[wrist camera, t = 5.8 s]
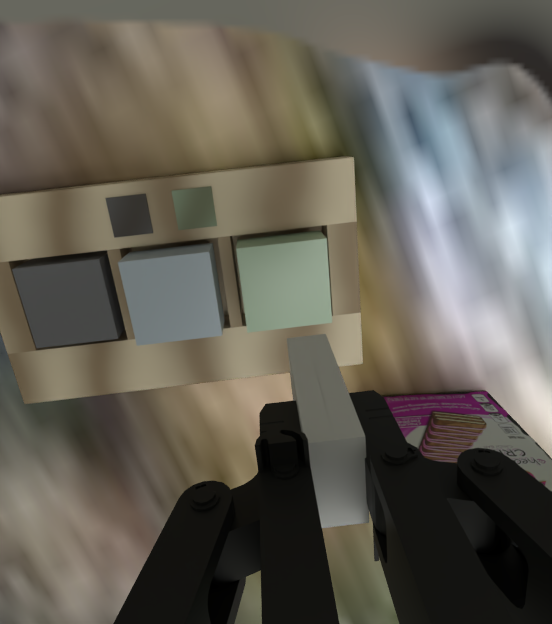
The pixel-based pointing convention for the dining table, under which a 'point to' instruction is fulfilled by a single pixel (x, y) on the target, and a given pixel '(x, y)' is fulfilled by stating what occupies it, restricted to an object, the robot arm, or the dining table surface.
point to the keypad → (172, 233)
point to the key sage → (285, 280)
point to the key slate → (173, 293)
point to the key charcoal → (70, 299)
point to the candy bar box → (467, 429)
